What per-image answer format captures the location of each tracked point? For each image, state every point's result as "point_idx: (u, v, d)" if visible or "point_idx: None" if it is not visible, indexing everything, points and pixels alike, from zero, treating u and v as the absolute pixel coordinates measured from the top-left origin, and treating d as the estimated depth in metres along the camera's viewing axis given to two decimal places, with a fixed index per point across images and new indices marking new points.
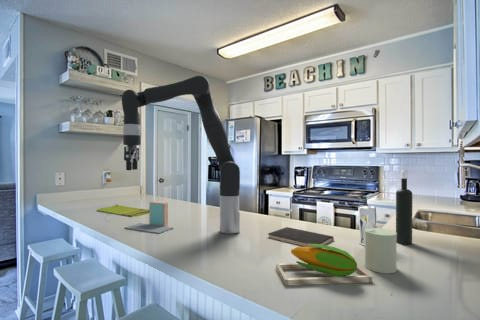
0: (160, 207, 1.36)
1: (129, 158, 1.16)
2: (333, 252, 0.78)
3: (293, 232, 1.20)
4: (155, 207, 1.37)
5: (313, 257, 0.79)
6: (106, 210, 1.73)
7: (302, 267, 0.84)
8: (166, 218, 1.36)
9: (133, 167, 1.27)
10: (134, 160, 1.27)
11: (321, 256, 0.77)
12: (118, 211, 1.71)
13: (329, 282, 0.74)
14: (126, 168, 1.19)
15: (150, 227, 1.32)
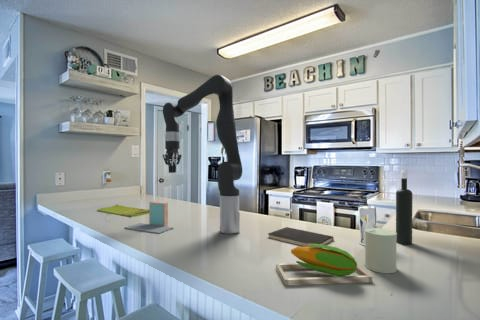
0: (160, 207, 1.36)
1: None
2: (333, 252, 0.78)
3: (293, 232, 1.20)
4: (155, 207, 1.37)
5: (313, 257, 0.79)
6: (106, 210, 1.73)
7: (302, 267, 0.84)
8: (166, 218, 1.36)
9: None
10: None
11: (321, 256, 0.77)
12: (118, 211, 1.71)
13: (329, 282, 0.74)
14: (175, 171, 1.46)
15: (150, 227, 1.32)
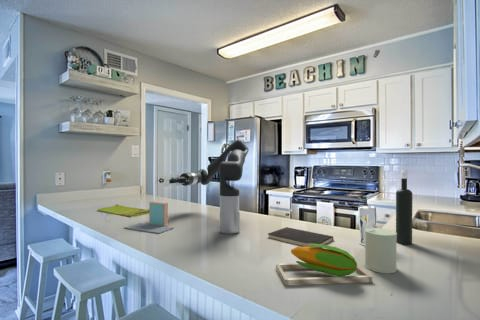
0: (160, 207, 1.36)
1: (181, 182, 1.50)
2: (333, 252, 0.78)
3: (293, 232, 1.20)
4: (155, 207, 1.37)
5: (313, 257, 0.79)
6: (106, 210, 1.73)
7: (302, 267, 0.84)
8: (166, 218, 1.36)
9: None
10: None
11: (321, 256, 0.77)
12: (118, 211, 1.71)
13: (329, 282, 0.74)
14: (172, 179, 1.47)
15: (150, 227, 1.32)
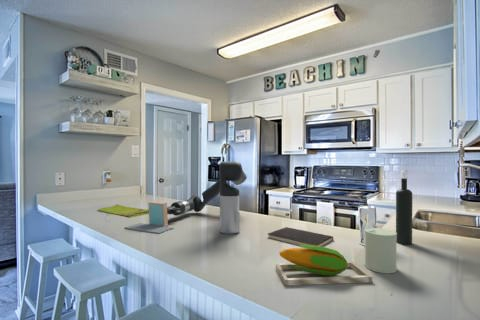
0: (159, 207, 1.35)
1: None
2: (325, 253, 0.79)
3: (293, 232, 1.19)
4: (154, 207, 1.37)
5: (307, 260, 0.79)
6: (106, 210, 1.73)
7: None
8: (165, 218, 1.36)
9: None
10: None
11: (316, 259, 0.77)
12: (118, 211, 1.71)
13: (329, 282, 0.74)
14: None
15: (150, 227, 1.32)
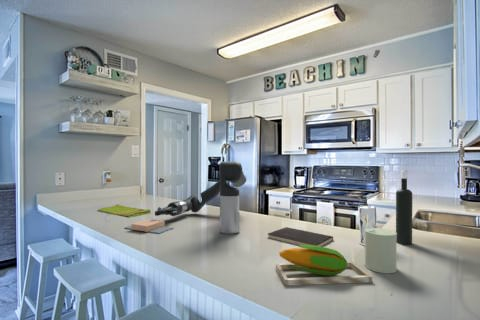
0: None
1: (167, 214, 1.40)
2: (325, 253, 0.79)
3: (293, 232, 1.19)
4: None
5: (306, 260, 0.79)
6: (106, 210, 1.73)
7: (302, 267, 0.84)
8: (158, 225, 1.31)
9: None
10: None
11: (316, 259, 0.77)
12: (117, 211, 1.71)
13: (329, 282, 0.74)
14: (157, 211, 1.37)
15: None
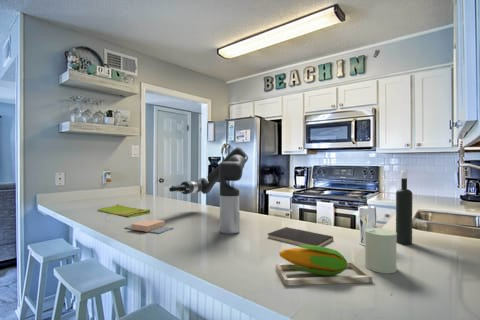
0: None
1: (181, 191, 1.50)
2: (325, 253, 0.79)
3: (293, 232, 1.19)
4: None
5: (306, 260, 0.79)
6: (106, 210, 1.73)
7: (302, 267, 0.84)
8: (158, 225, 1.31)
9: None
10: None
11: (316, 259, 0.77)
12: (117, 211, 1.71)
13: (329, 282, 0.74)
14: (172, 187, 1.48)
15: None
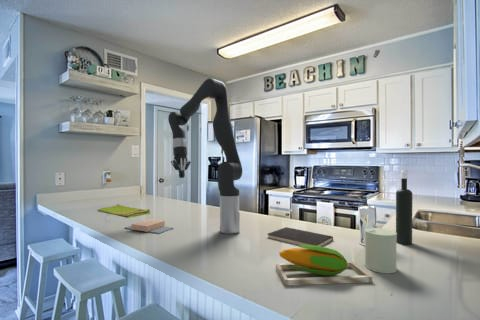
0: None
1: None
2: (325, 253, 0.79)
3: (292, 232, 1.19)
4: None
5: (306, 260, 0.79)
6: (106, 210, 1.73)
7: (302, 267, 0.84)
8: (158, 225, 1.31)
9: None
10: None
11: (316, 259, 0.77)
12: (117, 211, 1.71)
13: (329, 282, 0.74)
14: (184, 176, 1.48)
15: None
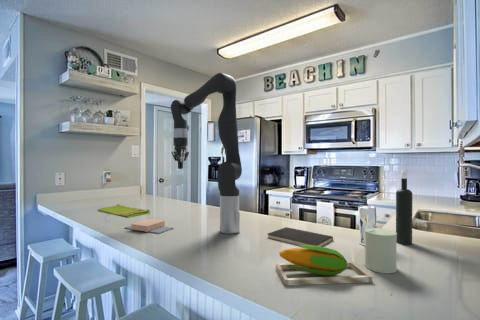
0: None
1: None
2: (325, 253, 0.79)
3: (292, 232, 1.19)
4: None
5: (306, 260, 0.79)
6: (106, 210, 1.73)
7: (302, 267, 0.84)
8: (158, 225, 1.31)
9: None
10: None
11: (316, 259, 0.77)
12: (117, 211, 1.71)
13: (329, 282, 0.74)
14: (182, 167, 1.47)
15: None
